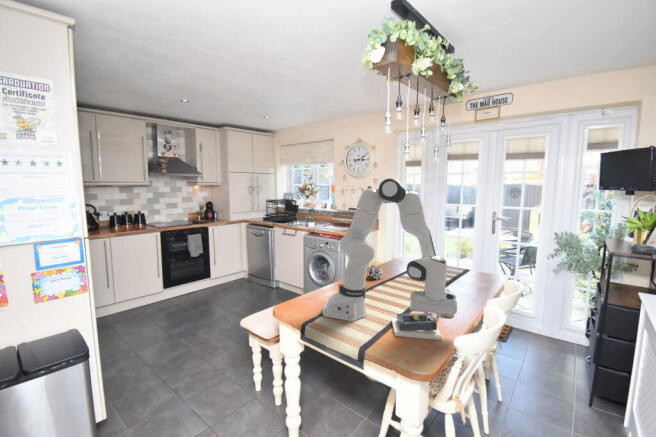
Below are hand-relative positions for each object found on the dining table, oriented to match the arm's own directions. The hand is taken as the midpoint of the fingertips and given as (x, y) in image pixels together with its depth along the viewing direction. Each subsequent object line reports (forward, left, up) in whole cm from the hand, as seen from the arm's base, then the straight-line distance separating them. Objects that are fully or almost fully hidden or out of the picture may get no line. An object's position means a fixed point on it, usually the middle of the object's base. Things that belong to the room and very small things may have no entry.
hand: (431, 321), depth 137 cm
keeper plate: (-7, 0, -5) cm, 9 cm away
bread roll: (+12, +20, -5) cm, 24 cm away
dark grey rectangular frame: (-7, 0, -2) cm, 7 cm away
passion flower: (-23, +69, -5) cm, 73 cm away
